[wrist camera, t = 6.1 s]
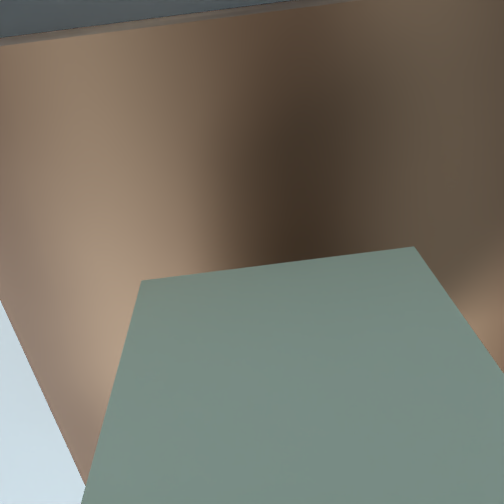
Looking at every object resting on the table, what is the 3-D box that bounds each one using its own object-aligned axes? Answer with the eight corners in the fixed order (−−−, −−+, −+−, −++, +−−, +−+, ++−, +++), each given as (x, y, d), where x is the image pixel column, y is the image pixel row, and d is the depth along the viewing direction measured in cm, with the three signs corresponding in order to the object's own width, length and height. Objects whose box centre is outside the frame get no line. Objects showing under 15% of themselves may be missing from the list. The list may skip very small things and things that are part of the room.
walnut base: (111, 423, 18) (92, 500, 15) (-32, 41, 11) (-110, 60, 9) (465, 381, 18) (507, 452, 15) (527, -31, 11) (621, -34, 8)
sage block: (190, 457, 11) (161, 868, 6) (140, 281, 9) (21, 720, 4) (403, 431, 11) (556, 824, 6) (414, 246, 9) (692, 643, 4)
